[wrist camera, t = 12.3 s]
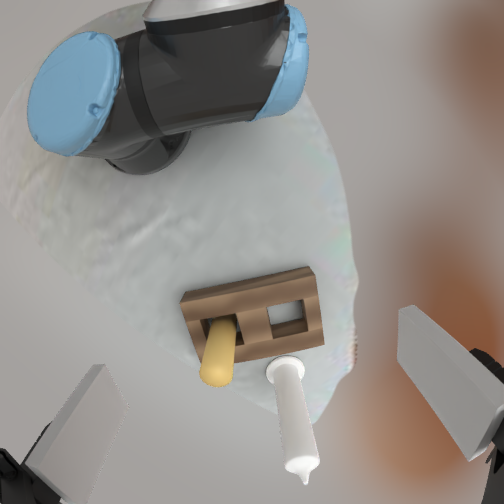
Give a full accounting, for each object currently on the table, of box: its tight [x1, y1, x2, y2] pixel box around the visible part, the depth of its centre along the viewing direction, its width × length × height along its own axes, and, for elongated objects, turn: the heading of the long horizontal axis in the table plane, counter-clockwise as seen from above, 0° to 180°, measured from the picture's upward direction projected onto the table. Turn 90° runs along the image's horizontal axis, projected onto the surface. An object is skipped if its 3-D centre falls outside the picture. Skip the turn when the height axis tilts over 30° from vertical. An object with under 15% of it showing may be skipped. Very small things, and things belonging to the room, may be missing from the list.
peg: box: [199, 313, 237, 387], centre depth 39 cm, size 4×4×15 cm
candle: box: [266, 356, 320, 485], centre depth 37 cm, size 7×7×25 cm
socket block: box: [180, 266, 325, 363], centre depth 44 cm, size 12×20×4 cm, turn 102°
